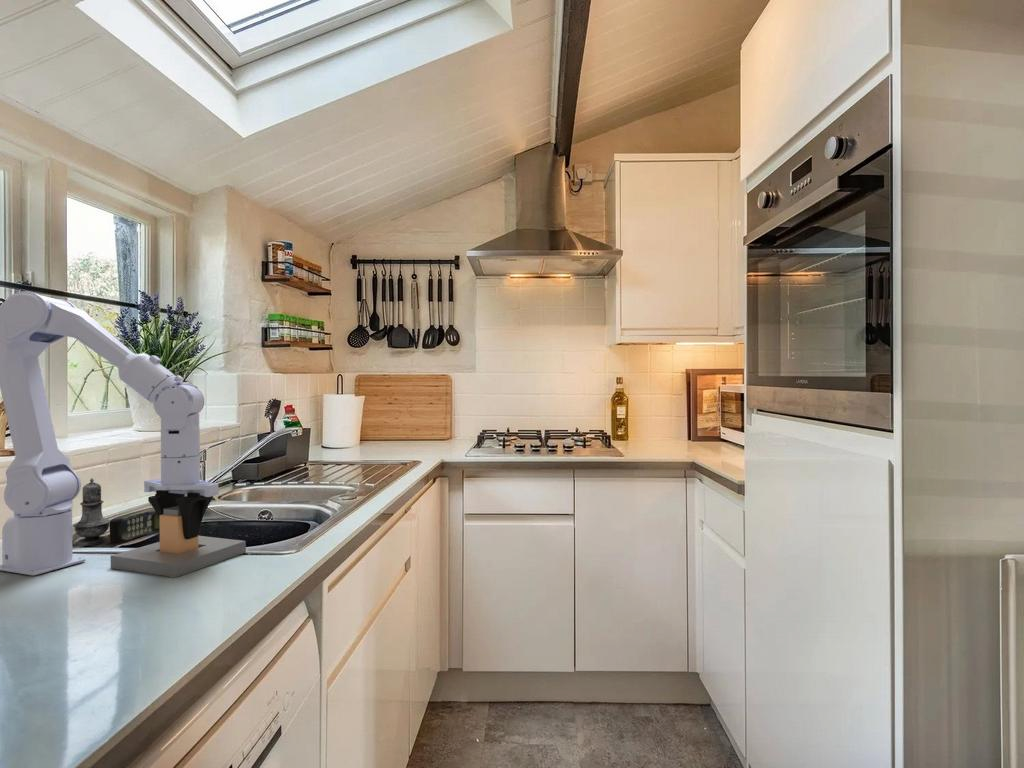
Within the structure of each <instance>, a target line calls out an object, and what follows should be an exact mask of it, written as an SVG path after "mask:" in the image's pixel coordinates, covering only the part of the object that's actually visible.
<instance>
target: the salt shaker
mask: <svg viewBox="0 0 1024 768" xmlns="http://www.w3.org/2000/svg"><path fill="white" fill-rule="evenodd" d="M103 503H104V500H103V499H102V487H101V484H99V483H97V482H95V479H94V478H93V477H91V478H90V480H89V482H88V483H87V484H85V485H84V486H83V487H82V502H80V503H79V504H80V505H81V517H80V520H78V522H75V523H72V528H74V531H75V534H76V535H77V536H79V537H80V539H78V540H77V541H76V542H74V546H79V547H82V546H83V547H85V546H94V545H101V544H103V543H104V544H105V543H107V542H108V541H110V537H107V536H103V535H104V534H105V533H106V532H107V531H108V529H109V528H110V521H111V520H112V519H107V518H105V517H104V515H103V511H102V507H103V506H102V505H103Z"/></svg>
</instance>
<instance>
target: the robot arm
mask: <svg viewBox="0 0 1024 768" xmlns="http://www.w3.org/2000/svg"><path fill="white" fill-rule="evenodd" d="M66 337H68V338H73V339H76V340H77V341H79V342H80V343H81V344H83V345H84V346H86V347H88V348H89V349H90V350H92V351H93V352H95V353H96V354H97V355H98V356H100V357H102V358H103V359H105V360H106V361H108V362H109V363H110V364H112V365H113V366H115V367H116V368H117V371H118V378H119V380H120V381H122V382H123V383H125V384H126V386H128V387H130V388H131V389H133V391H135V392H137V394H139V395H140V396H141V397H143V398H144V399H146V400H147V401H148V402H149V403H150V404H152V405H153V409H154V411H155V413H156V414H157V415H158V416H159V417H160V478H159V479H158V478H153V479H147V480H144V482H143V484H144V485H143V486H144V489H143V490H144V493H152V492H154V493H155V494H154V495H151V496H149V497H147V499H148V502H149V503H150V506H151V507H152V508H154V510H155V511H156V513H157V516H158V518H159V521H160V515H163V514H164V513H163V509H165V508H170V507H174V506H179V509H180V512H181V516H182V524H183V534H184V538H185V539H191V538H195V537H198V536H199V533H200V530H201V529H200V528H201V525H202V521H203V519H204V516H205V514H206V511H207V509H208V507H209V506H210V504H211V501H212V500H213V499H214V497H215V496H218V495H219V483H215V482H210V481H205V480H202V479H201V462H200V461H201V452H200V449H201V446H200V445H201V442H200V441H201V440H200V439H201V438H200V437H201V436H200V433H201V430H200V429H201V428H200V413H201V412H202V410H203V408H204V406H205V396H204V394H203V392H202V391H201V390H200V389H199V388H198V386H197V385H194V384H191V383H183V382H184V380H185V378H184V377H183V376H182V375H178V374H177V375H175V374H174V373H173V372H171V370H169V369H168V368H166V367H165V366H163V365H162V364H161V362H162V359H161V358H160V357H158V356H157V355H149V354H148V353H134V352H133V351H132V350H130V349H129V347H127V346H126V345H125V344H123V343H122V342H121V341H120V340H119V339H117V338H116V337H115V336H114V335H113V334H112V333H110V332H109V331H108V330H107V329H106V328H104V326H102V325H101V324H99V322H97V321H96V320H95V319H93V317H92V316H90V315H89V314H88V313H87V312H86V311H84V310H83V309H81V308H77V307H76V306H75V304H73V302H70V301H69V300H67V299H66V300H65V299H62V298H54V297H49V296H45V295H42V294H41V295H40V294H38V293H36V292H34V291H33V292H32V291H26V290H23V291H18V292H15V293H13V294H11V295H9V297H8V298H6V300H5V301H3V302H2V303H1V304H0V392H1V397H2V401H3V402H2V403H3V407H4V411H5V412H4V413H5V416H6V420H7V425H8V429H9V430H8V431H9V433H10V438H11V443H12V446H13V447H12V448H13V452H14V456H15V457H14V459H13V461H11V463H10V464H9V465H8V467H7V468H6V470H5V475H6V477H5V478H6V485H5V488H4V491H3V492H4V493H3V500H4V503H5V505H6V506H7V508H8V509H9V510H10V511H12V512H13V514H12V515H10V516H9V517H8V518H7V519H6V521H5V522H4V523H3V526H2V530H1V531H2V532H1V545H2V546H1V553H2V554H1V555H2V556H1V557H2V558H1V564H0V571H2V572H3V571H4V572H9V573H16V574H21V575H27V576H38V575H41V574H44V573H49V572H51V571H55V570H58V569H62V568H65V567H69V566H73V565H76V564H80V563H83V562H86V558H85V557H79V556H73V500H74V499H76V498H77V496H78V495H79V493H80V491H81V489H82V488H81V487H82V482H81V478H80V476H79V474H77V472H76V471H75V470H74V469H73V467H72V464H71V461H70V458H69V457H68V456H67V455H65V454H64V453H63V452H62V451H61V450H60V449H59V447H58V442H57V438H56V433H55V429H54V425H53V420H52V415H51V411H50V410H51V409H50V405H49V403H48V397H47V392H46V388H45V383H44V379H43V375H42V370H41V366H40V362H39V361H40V359H39V356H40V355H41V354H42V353H43V352H44V351H45V350H46V349H47V348H48V347H49V346H50V345H52V344H54V343H56V342H58V341H60V340H62V339H63V338H66Z"/></svg>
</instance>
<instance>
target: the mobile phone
mask: <svg viewBox="0 0 1024 768" xmlns="http://www.w3.org/2000/svg"><path fill="white" fill-rule="evenodd" d="M110 520H111V521H110V523H109V541H110V542H111V543H114V544H119V543H122V542H127V541H130V540H134V539H138V538H142V537H146V536H150V535H153V534H157V533H160V521H159V518H158V516H157V513H156V511H155V510H154V508H153V507H151V508H146V509H143V510H138V511H133V512H129V513H126V514H122V515H119V516H116V517H113V518H111V519H110Z"/></svg>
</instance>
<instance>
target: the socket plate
mask: <svg viewBox="0 0 1024 768" xmlns="http://www.w3.org/2000/svg"><path fill="white" fill-rule="evenodd" d="M246 543H247V542H246V540H241V539H233V538H232V539H230V538H222V537H212V536H205V535H204V536H203V535H198V546H199V548H197V549H193V550H190V551H187V552H184V553H181V554H174V553H166V552H160V541H157V542H154V543H151V544H147V545H143V546H140V547H136V548H132V549H129V550H126V551H123V552H118V553H115V554H112V555H110V569H113V570H122V571H128V572H134V573H141V572H142V574H147V573H149V575H154V574H155V575H156V576H161V575H162V576H163V577H168V578H178V577H181V576H183V575H186V574H189V573H192V572H195V571H198V570H200V569H203V568H206V567H208V566H211V565H215V564H216V563H219V562H222V561H225V560H228V559H231V558H234V557H236V556H240V555H243V554H245V553H246V552H247V547H246V546H247V545H246ZM162 576H161V577H162Z"/></svg>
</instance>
